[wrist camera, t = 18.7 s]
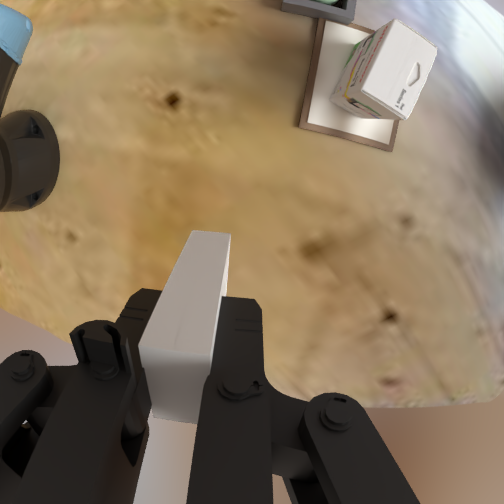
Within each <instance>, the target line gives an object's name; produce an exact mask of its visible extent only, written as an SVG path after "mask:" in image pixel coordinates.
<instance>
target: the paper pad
mask: <svg viewBox="0 0 504 504" xmlns="http://www.w3.org/2000/svg"><path fill="white" fill-rule="evenodd" d="M373 32H375V31H374V30H371V29H368V28H365V27H362V26H359V25H356V24H353V23H350V24H349V25H345V24H342V23H339V22H335V21H331V20H328V19H324V18H320V17H319V19H318V24H317V30H316V36H315V41H314V47H313V53H312V58H311V64H310V69H309V75H308V80H307V85H306V91H305V96H304V101H303V106H302V112H301V117H300V122H299V128H303V129H308V130H312V131H317V132H321V133H325V134H329V135H333V136H337V137H341V138H345V139H348V140H352V141H356V142H359V143H363V144H366V145H370V146H373V147H376V148H380V149H383V150H386V151H389V152H392V151H393V147H394V142H395V138H396V133H397V128H398V123H399V120H388V119H361V118H359V117H357V116H356V115H354V114H352V113H350V112H349V111H347V110H345V109H343V108H341V107H340V106H338V105H336V104H334V103H333V102H331V101H330V100H329V98H330V96H331V94H332V91H333V89H334V87H335V85H336V83H337V81H338V79H339V77H340V75H341V73H342V71H343V69H344V67H345V65H346V63H347V61H348V58H349V56H350V54H351V52H352V50H353V48H354V46H355V44H357V43H358V42H360V41H361V40H363V39H364V38H366V37H367V36H369V35H370V34H372V33H373Z"/></svg>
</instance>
